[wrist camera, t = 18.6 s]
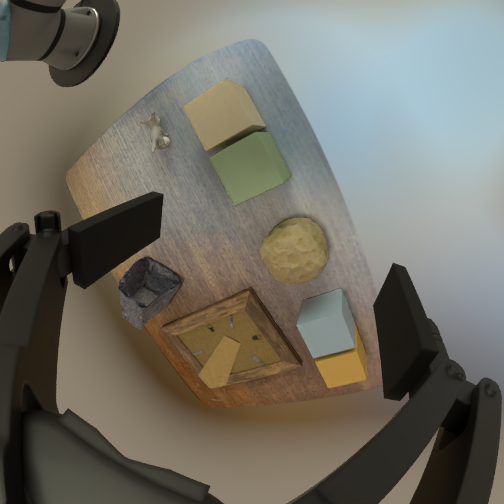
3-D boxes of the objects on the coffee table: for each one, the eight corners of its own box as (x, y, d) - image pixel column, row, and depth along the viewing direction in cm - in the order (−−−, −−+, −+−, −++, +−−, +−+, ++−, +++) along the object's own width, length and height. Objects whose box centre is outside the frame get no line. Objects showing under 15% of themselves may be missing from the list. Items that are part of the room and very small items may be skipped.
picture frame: (213, 383, 62) (302, 361, 52) (210, 388, 60) (301, 367, 50) (163, 325, 58) (251, 286, 48) (159, 329, 56) (248, 291, 46)
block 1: (204, 110, 38) (181, 106, 32) (243, 86, 35) (226, 77, 29) (225, 148, 40) (205, 151, 34) (266, 126, 37) (253, 124, 31)
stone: (157, 244, 52) (191, 278, 49) (153, 278, 58) (183, 310, 55) (104, 269, 43) (136, 309, 40) (107, 303, 50) (136, 340, 47)
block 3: (302, 300, 46) (296, 325, 40) (341, 287, 43) (341, 312, 37) (316, 331, 48) (312, 358, 42) (354, 320, 45) (355, 347, 39)
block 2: (228, 154, 40) (208, 158, 34) (269, 132, 37) (256, 131, 31) (249, 195, 42) (234, 206, 36) (291, 175, 39) (283, 183, 33)
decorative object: (333, 243, 45) (349, 229, 35) (302, 297, 44) (310, 297, 34) (284, 215, 46) (287, 193, 36) (252, 267, 45) (246, 259, 35)
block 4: (318, 335, 48) (314, 362, 42) (355, 324, 45) (356, 351, 39) (330, 361, 50) (328, 388, 44) (365, 352, 47) (367, 379, 41)
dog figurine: (176, 123, 43) (155, 104, 38) (174, 158, 40) (149, 139, 35) (162, 131, 44) (140, 114, 39) (158, 167, 41) (134, 149, 36)
